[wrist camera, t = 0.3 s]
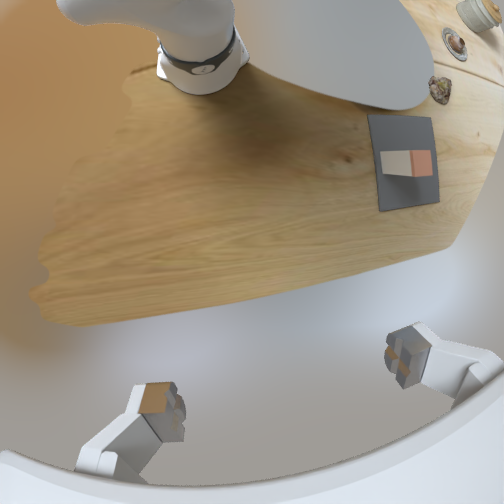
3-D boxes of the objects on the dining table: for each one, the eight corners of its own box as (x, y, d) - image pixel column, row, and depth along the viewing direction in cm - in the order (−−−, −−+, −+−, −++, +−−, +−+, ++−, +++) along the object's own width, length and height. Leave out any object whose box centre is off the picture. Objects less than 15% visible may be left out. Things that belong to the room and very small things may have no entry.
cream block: (379, 151, 52) (412, 150, 41) (397, 150, 52) (430, 150, 41) (382, 173, 54) (415, 176, 42) (399, 172, 54) (432, 175, 42)
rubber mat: (366, 115, 50) (368, 114, 49) (429, 117, 51) (430, 117, 50) (379, 211, 57) (380, 211, 56) (438, 201, 58) (439, 201, 57)
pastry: (434, 26, 42) (443, 22, 38) (455, 30, 42) (464, 27, 38) (450, 59, 46) (460, 56, 41) (469, 62, 46) (479, 60, 41)
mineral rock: (444, 110, 48) (434, 83, 44) (432, 108, 52) (422, 82, 48) (459, 95, 47) (450, 69, 43) (447, 93, 51) (438, 69, 47)
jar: (465, 4, 37) (493, -7, 20) (482, 32, 41) (513, 24, 24) (450, 2, 38) (480, -12, 21) (469, 33, 41) (502, 22, 25)
